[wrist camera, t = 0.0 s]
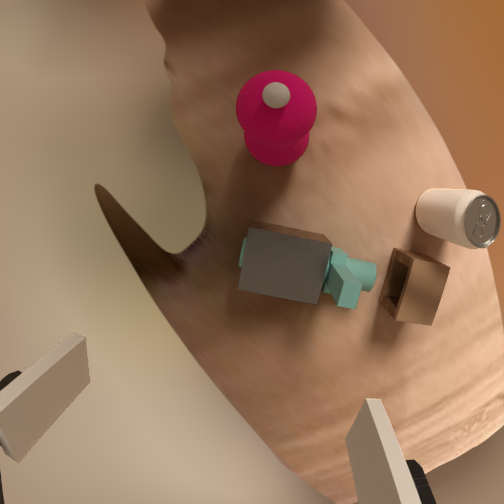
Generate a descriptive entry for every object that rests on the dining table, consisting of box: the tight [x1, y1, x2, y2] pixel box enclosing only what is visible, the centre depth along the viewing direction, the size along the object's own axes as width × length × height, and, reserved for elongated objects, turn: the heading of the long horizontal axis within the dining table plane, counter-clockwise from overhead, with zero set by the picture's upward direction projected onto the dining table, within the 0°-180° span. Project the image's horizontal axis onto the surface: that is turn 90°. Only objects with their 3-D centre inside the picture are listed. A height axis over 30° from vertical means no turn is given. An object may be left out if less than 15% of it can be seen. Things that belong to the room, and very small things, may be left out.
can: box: [416, 188, 501, 249], centre depth 30 cm, size 6×6×12 cm
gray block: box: [238, 221, 332, 305], centre depth 36 cm, size 7×9×7 cm
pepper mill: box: [236, 70, 317, 166], centre depth 27 cm, size 7×7×20 cm
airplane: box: [239, 237, 376, 309], centre depth 32 cm, size 16×5×11 cm, turn 79°
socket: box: [379, 248, 450, 325], centre depth 35 cm, size 8×6×7 cm
